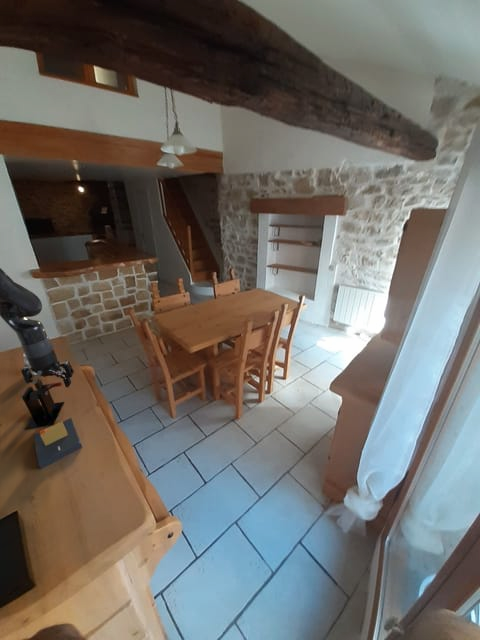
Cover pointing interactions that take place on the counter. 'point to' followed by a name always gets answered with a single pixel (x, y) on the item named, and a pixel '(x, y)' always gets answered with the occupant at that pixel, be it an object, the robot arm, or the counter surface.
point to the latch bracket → (41, 408)
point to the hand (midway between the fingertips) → (55, 387)
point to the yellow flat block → (53, 433)
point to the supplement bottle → (27, 364)
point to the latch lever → (34, 393)
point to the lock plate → (57, 445)
